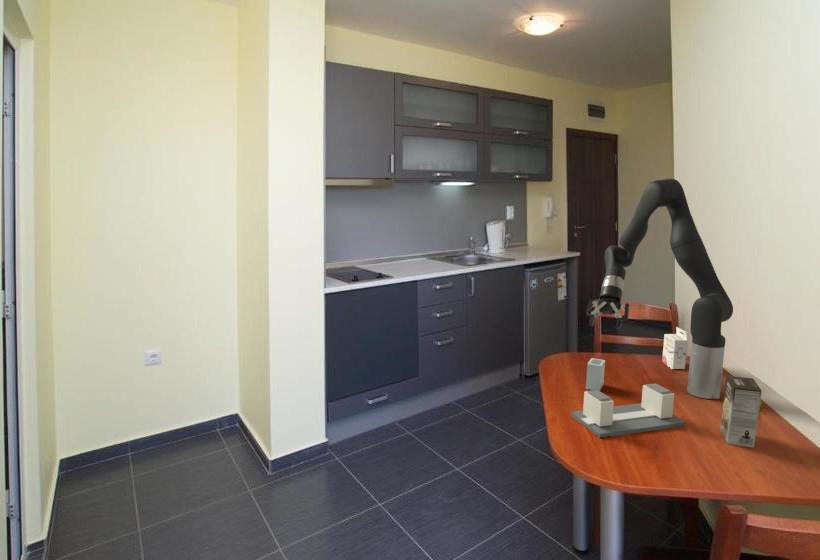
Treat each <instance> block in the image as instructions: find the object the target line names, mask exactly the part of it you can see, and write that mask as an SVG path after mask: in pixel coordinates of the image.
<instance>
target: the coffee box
mask: <svg viewBox="0 0 820 560" xmlns="http://www.w3.org/2000/svg"><path fill="white" fill-rule="evenodd" d="M724 387H725V388H724V393H723V394H724V396H723V403H722V412H721V419H720V420H721V421H720V430H721V433H722V435H723V437H724V439H725V442H726V443H727V444H728V445H734V446H740V447H747V448H752V449H754V448H755V443H756V437H757V427H758V422H759V421H758V420H759V415H760V414H759V413H760V409H761V408H760V406H761V401H762V400H761V399H762V392H763V391H762V389H761V388H760V386H759V384H758V383H757V382H756V380H755V379H754V378H752V377H743V376H742V377H741V376H732V375H726V379H725V386H724Z"/></svg>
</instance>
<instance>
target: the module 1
mask: <svg viewBox="0 0 820 560" xmlns="http://www.w3.org/2000/svg"><path fill="white" fill-rule="evenodd" d="M613 407H615V401H614V400H612V399H611V397H610V396H608V395H607V394H605V393H603V392H601V390H600V391H598V390H587V391H584V392H583V406H582V410H583V415H585V416H586V417H587V418H589V419H590V420H591V421H593V422H594V423H595V424H597V425H598V426H608V425H612V420H613Z"/></svg>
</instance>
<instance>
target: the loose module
mask: <svg viewBox="0 0 820 560" xmlns="http://www.w3.org/2000/svg"><path fill="white" fill-rule="evenodd" d="M605 366H606V360H605V359H601V358H594V357H590V360H589V361H588V362H587V365H586V377H585V378H586V381H585V382H586V383H585V389H586V390H588V389H590V390H589V391H592V390H598V391H600V392H601V390H602V389H603V386H604V380H605V378H604V377H605V368H606V367H605Z"/></svg>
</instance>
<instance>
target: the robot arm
mask: <svg viewBox="0 0 820 560" xmlns="http://www.w3.org/2000/svg"><path fill="white" fill-rule="evenodd" d="M686 197H687V196H686V194H685V190H684V188H683V186H682V183H680V181H678V180H677V179H675V178H665V179H656V180H653V181H651V182H649V183H648V184H647V185H646V186H645V188H644V190H643V191H642V195H641V197H640V199H639V202H638V204H637V206H636V207H635V210H634V213H633V216H632V218H631V220H630V221H629V223H628V225H627V227H626V228H625V230H624V231H623V233H622V234H621V236H620V238H619V239H618V243H619V245H620V246H618V245H616V244H613V245H609V246H608V247H607V248H606V249H605V251H604V262H605V263H604V264H605V274H604V278H603V282H602V283H601V288H600V289H601V290H600V293H599V297H598V300H597V301H595V300H593V299H589V301H588V304H587V307H586V310H585V312H586V316H588V317H589V319H588V320H589V321H588V322H589V325H590V327H594V324H595V320H596V317H597V316H599V315H601V314H603V315H610V316H611V315H614V316H615V318H616V324H615V330H617V331H618V330H619V329H621V327H622V322H623V321H625V322H627V321H629V313H630V304H629V303H628V302H627V303H625V304H623V303H622V298H623V293H624V287H625V285H624V284H625V279H626V275H627V274H626V272H627V271H626V269H625V268H629V267H630V266H631V265H632V264H633V262H634V259H635V258H634V257H635V254H636V252H637V249H638V247H639V245H640V244H641V242H642V241H643V240H644V238H645V236H646V235H647V233H648V230H649V219H650V217H651V216H652V215H653V213H654V212H655V211H656V210H657V209H658V208H663V207H665V208H666V209H667V211H668V214H669V216H670V217H669V218H670V220H671V231H670V237H669V245H670V248H671V251H672V254H673V256H674V258H675V261H676V263H677V264H678V266H679V267H680V268H681V269H682V271H683V272H684V273H685V274H686V275H687V276H688V277H689V278H690V280H691V281H692V282H693V283H694V285H695V287H696V290H697V291H698V293H699V298H697V299H695V301H694V302H693V304H692V307H691V314H690V326H689V327H690V331H689V332H690V335H691V348H690V355H689V356H690V357H689V365H688V367H689V369H688V377H687V383H686V384H687V385H686V388H687V389H686V392H687V394H690V395H692V396H694V397H697V398H702V399H706V400H707V399H708V400H721V399H720V397H721V389H722V380H723V366H724V359H725V358H724V357H725V349H726V348H725V346H726V338H725V336H724V335H723V334H722V323H723V322H727V321H728V320H730V319H731V318H732V317H733V314H734V306H733V303H732V301H731V298H730V297H729V295H728V294H727V291H726V290H725V288H724V286H723V285H722V283H721V281H720V280H719V278H718V275H717V273H716V270H715V267H714V265H713V264H712V261H711V259H710V256H709V254H708V251H707V248H706V246H705V244H704V242H703V239H702V237H701V236H700V234H699V230H698V229H697V226H696V224H695V223H696V222H695V221H694V218H693V216H692V213H691V211H690V207H689V203H688V201H687V198H686ZM595 306H596V307H595ZM593 308H594V309H593ZM592 309H593V310H592ZM621 309H622V311H624V313H623V315H622V314H621V313H620V310H621Z"/></svg>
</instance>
